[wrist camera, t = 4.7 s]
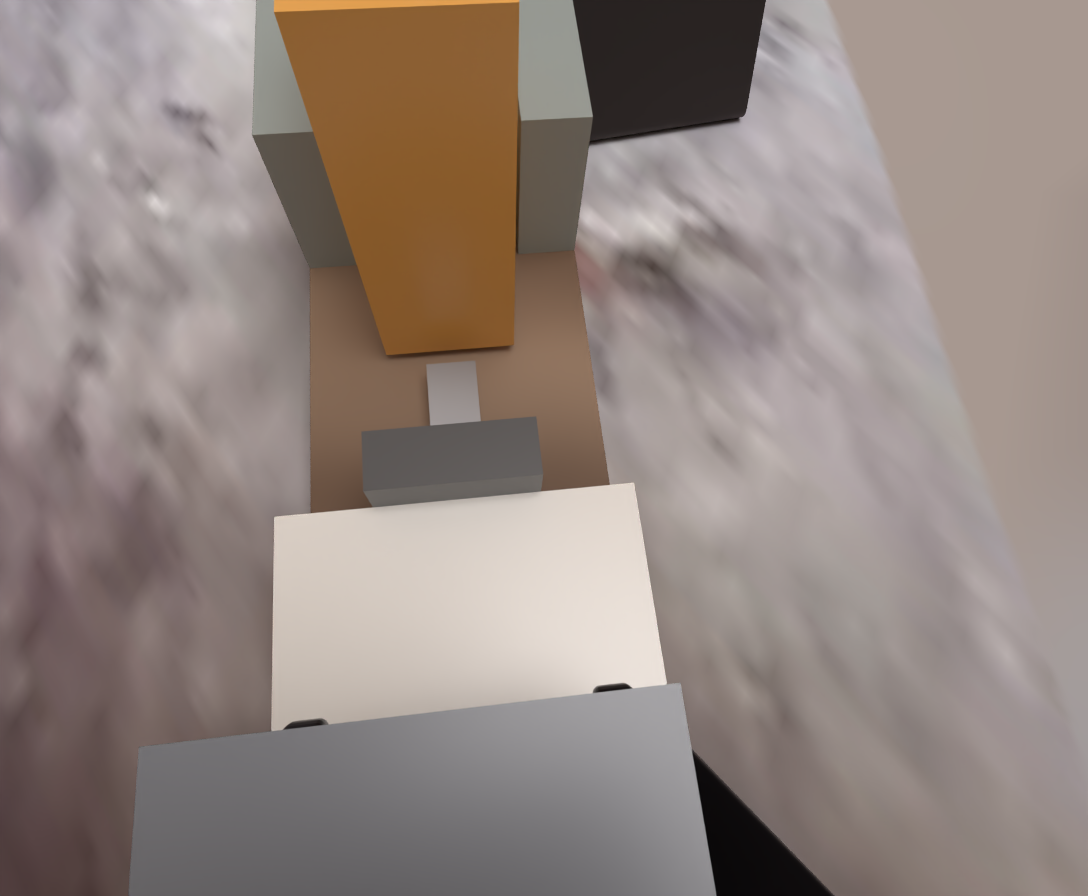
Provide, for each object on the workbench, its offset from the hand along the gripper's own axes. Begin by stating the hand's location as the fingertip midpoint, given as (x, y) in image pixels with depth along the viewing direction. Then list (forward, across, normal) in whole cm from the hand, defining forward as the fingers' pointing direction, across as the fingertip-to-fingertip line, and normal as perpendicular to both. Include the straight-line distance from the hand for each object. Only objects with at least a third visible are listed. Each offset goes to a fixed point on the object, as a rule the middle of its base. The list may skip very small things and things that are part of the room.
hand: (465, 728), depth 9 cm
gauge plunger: (+10, 0, -3) cm, 11 cm away
